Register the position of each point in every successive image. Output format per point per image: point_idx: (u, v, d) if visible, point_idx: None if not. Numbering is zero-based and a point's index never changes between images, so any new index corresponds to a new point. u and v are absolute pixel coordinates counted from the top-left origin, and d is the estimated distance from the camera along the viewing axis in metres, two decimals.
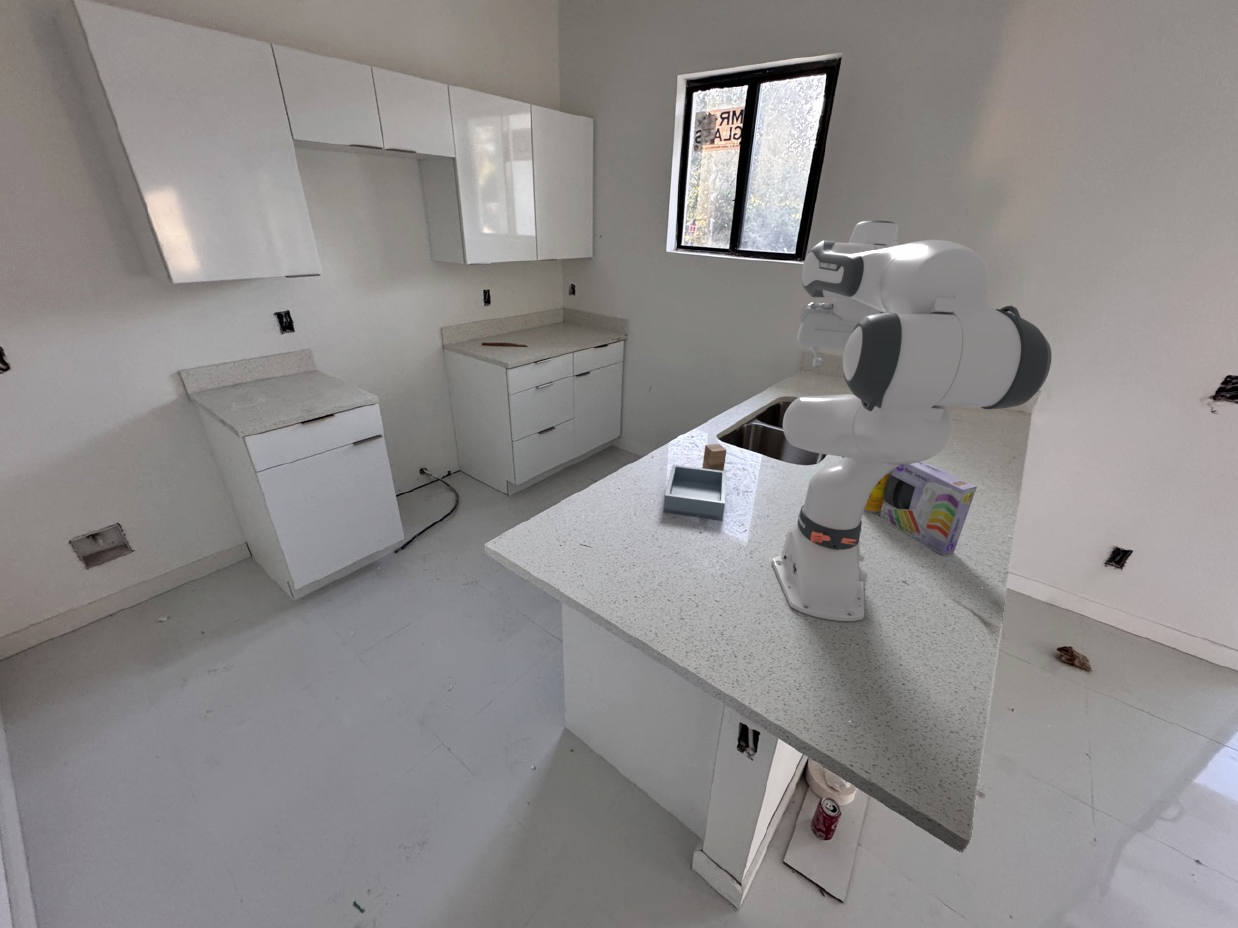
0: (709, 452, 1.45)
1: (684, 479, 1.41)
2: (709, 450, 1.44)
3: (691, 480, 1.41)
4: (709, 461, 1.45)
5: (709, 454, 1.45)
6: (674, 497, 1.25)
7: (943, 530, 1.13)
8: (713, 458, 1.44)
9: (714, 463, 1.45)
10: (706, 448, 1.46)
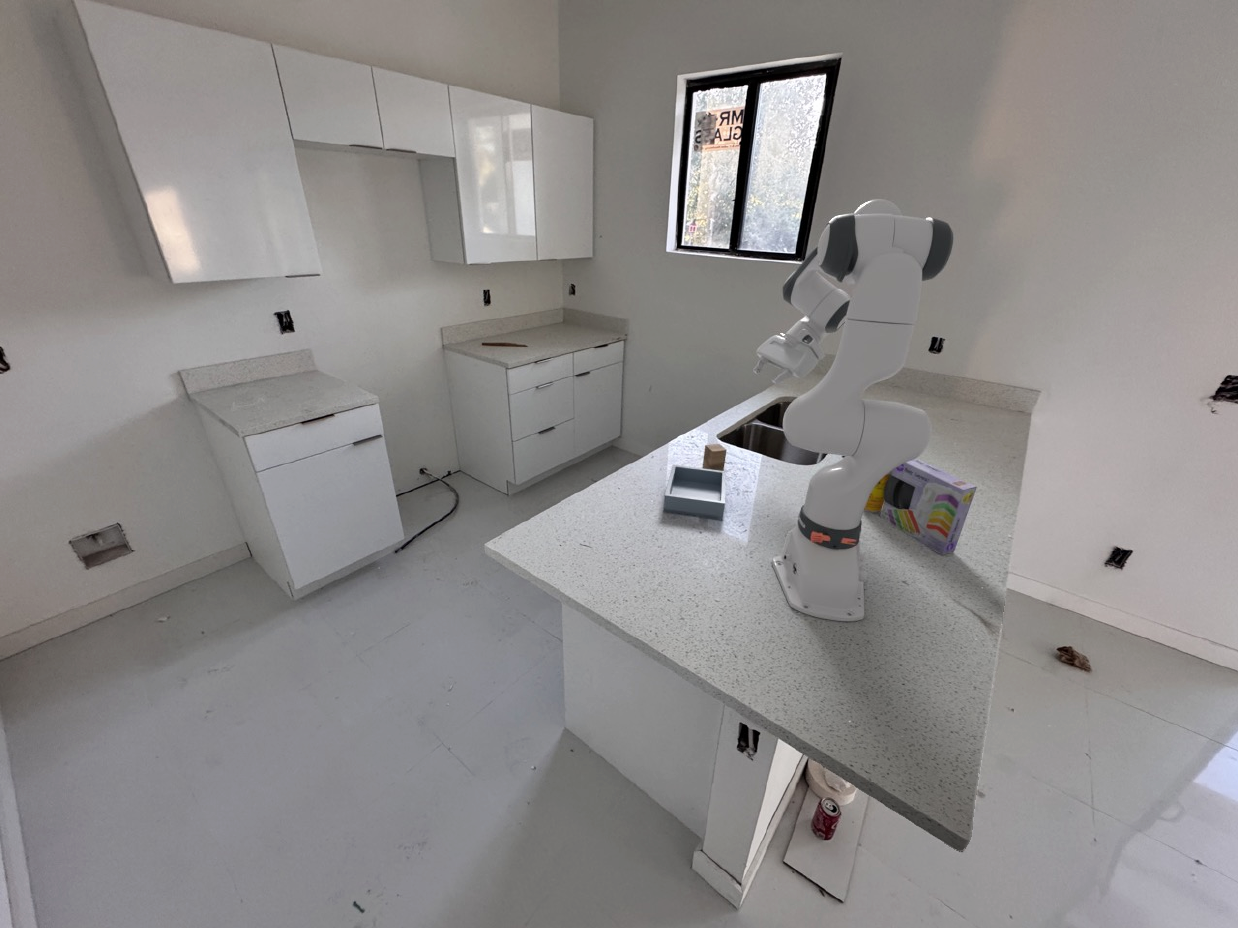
0: (709, 452, 1.45)
1: (684, 479, 1.41)
2: (709, 450, 1.44)
3: (691, 480, 1.41)
4: (709, 461, 1.45)
5: (709, 454, 1.45)
6: (674, 497, 1.25)
7: (943, 530, 1.13)
8: (713, 458, 1.44)
9: (714, 463, 1.45)
10: (706, 448, 1.46)
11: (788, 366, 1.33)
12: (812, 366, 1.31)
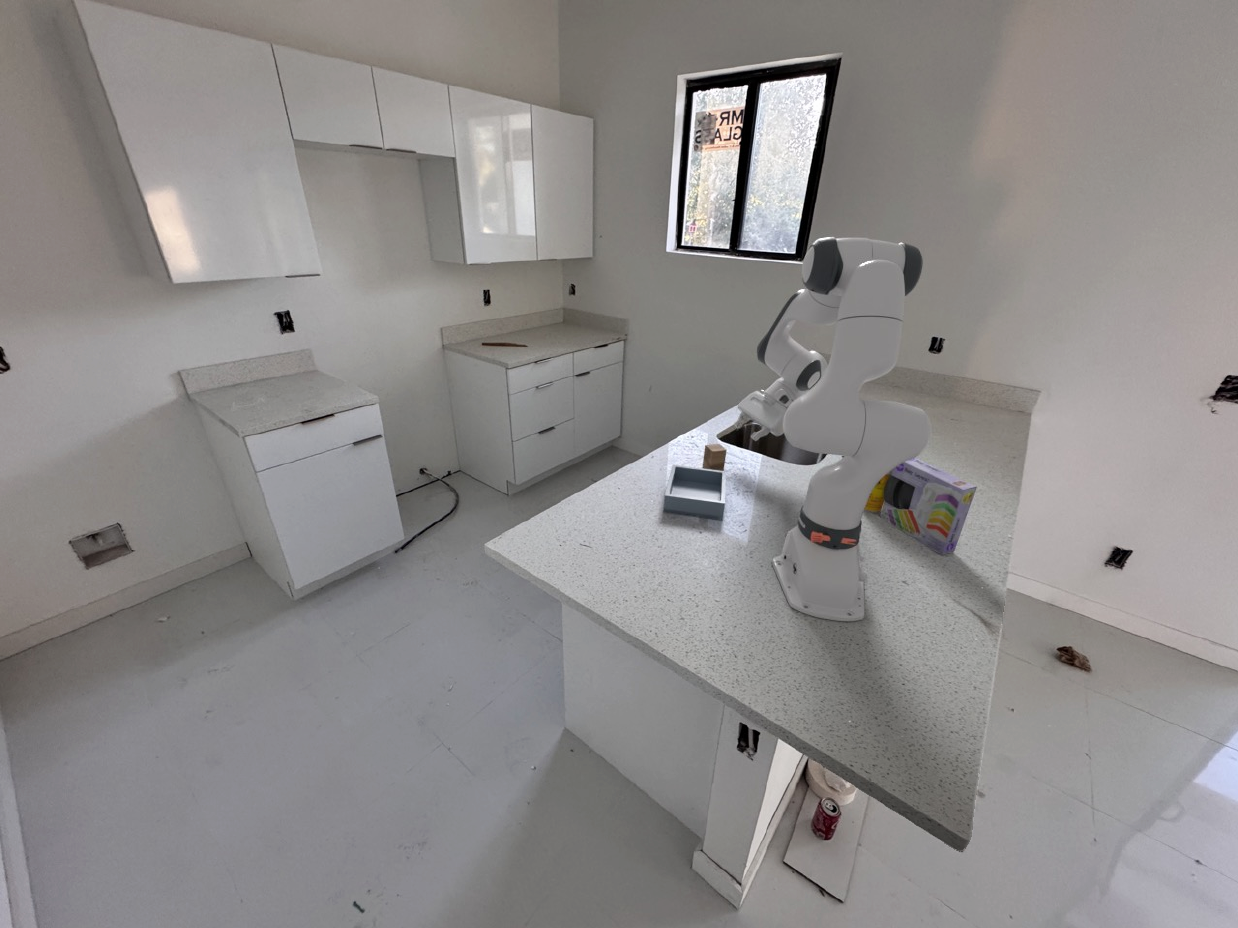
0: (709, 452, 1.45)
1: (684, 479, 1.41)
2: (709, 450, 1.44)
3: (691, 480, 1.41)
4: (709, 461, 1.45)
5: (709, 454, 1.45)
6: (674, 497, 1.25)
7: (943, 530, 1.13)
8: (713, 458, 1.44)
9: (714, 463, 1.45)
10: (706, 448, 1.46)
11: (766, 424, 1.40)
12: None
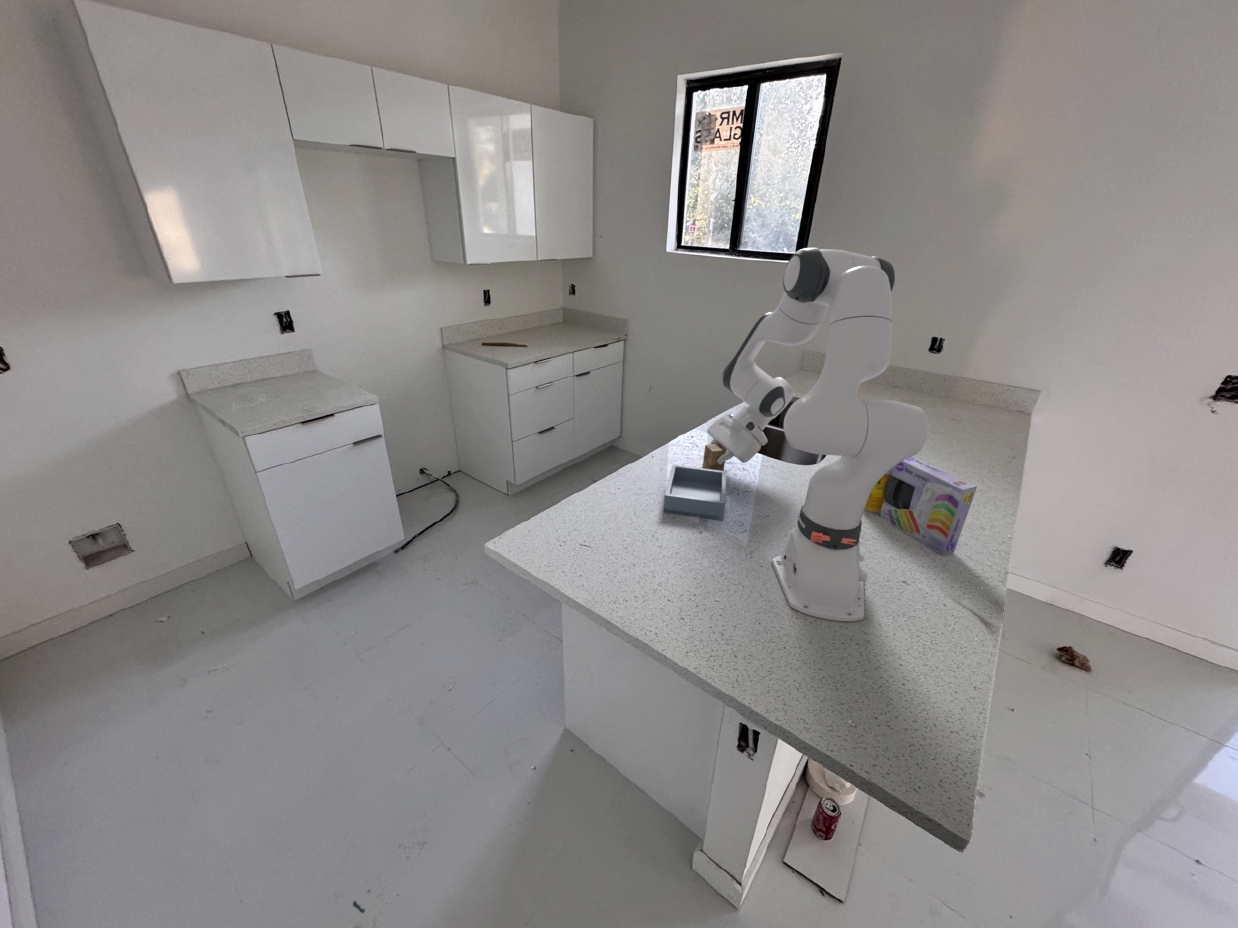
0: (709, 452, 1.45)
1: (684, 479, 1.41)
2: (709, 450, 1.44)
3: (691, 480, 1.41)
4: (709, 461, 1.45)
5: (709, 454, 1.45)
6: (674, 497, 1.25)
7: (943, 530, 1.13)
8: (713, 458, 1.44)
9: (714, 463, 1.45)
10: (706, 448, 1.46)
11: (732, 451, 1.40)
12: (754, 452, 1.38)
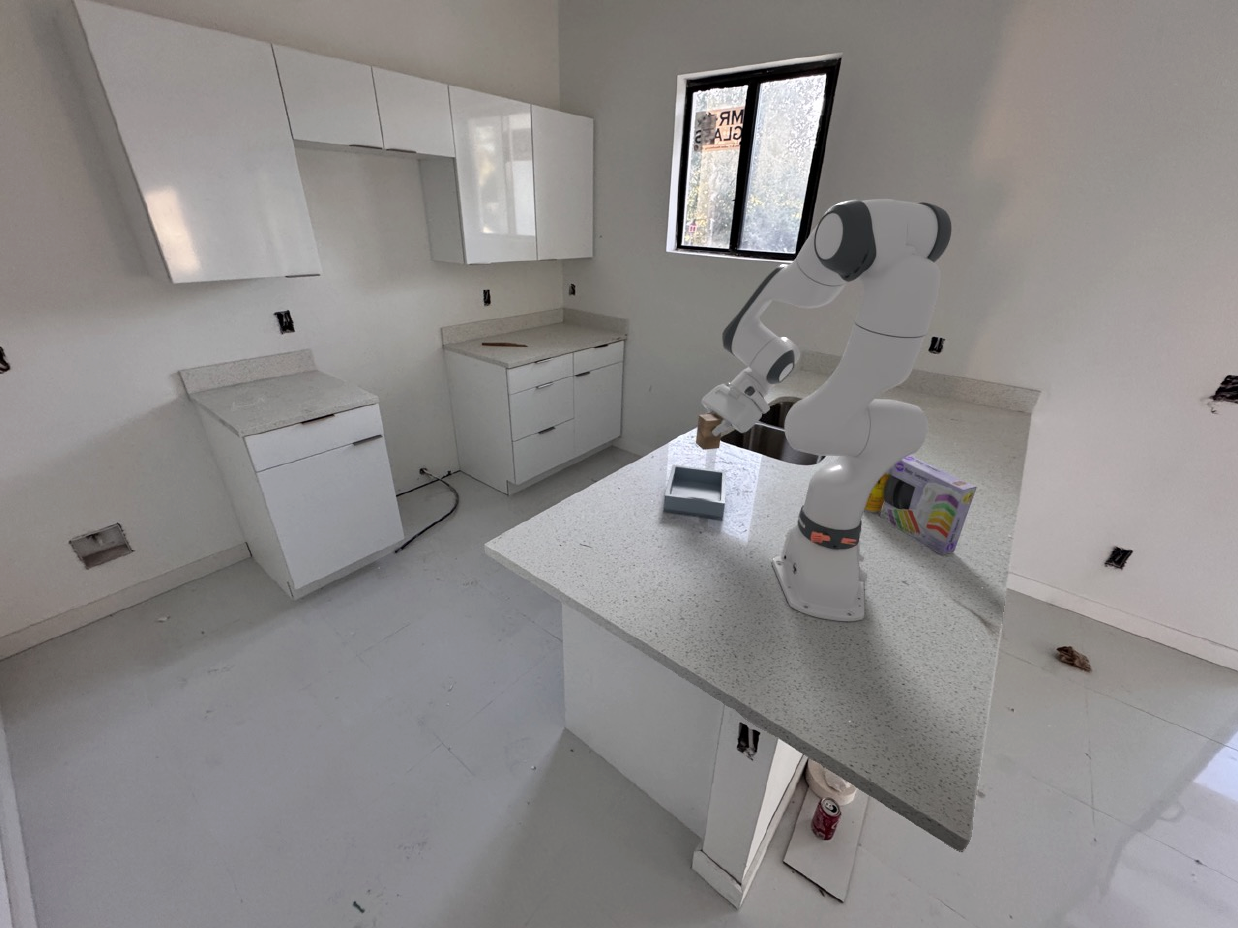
0: (703, 422, 1.27)
1: (684, 479, 1.41)
2: (703, 420, 1.27)
3: (691, 480, 1.41)
4: (703, 432, 1.28)
5: (703, 425, 1.28)
6: (674, 497, 1.25)
7: (943, 530, 1.13)
8: (707, 429, 1.27)
9: (708, 435, 1.28)
10: (700, 418, 1.29)
11: (729, 419, 1.23)
12: (755, 420, 1.21)
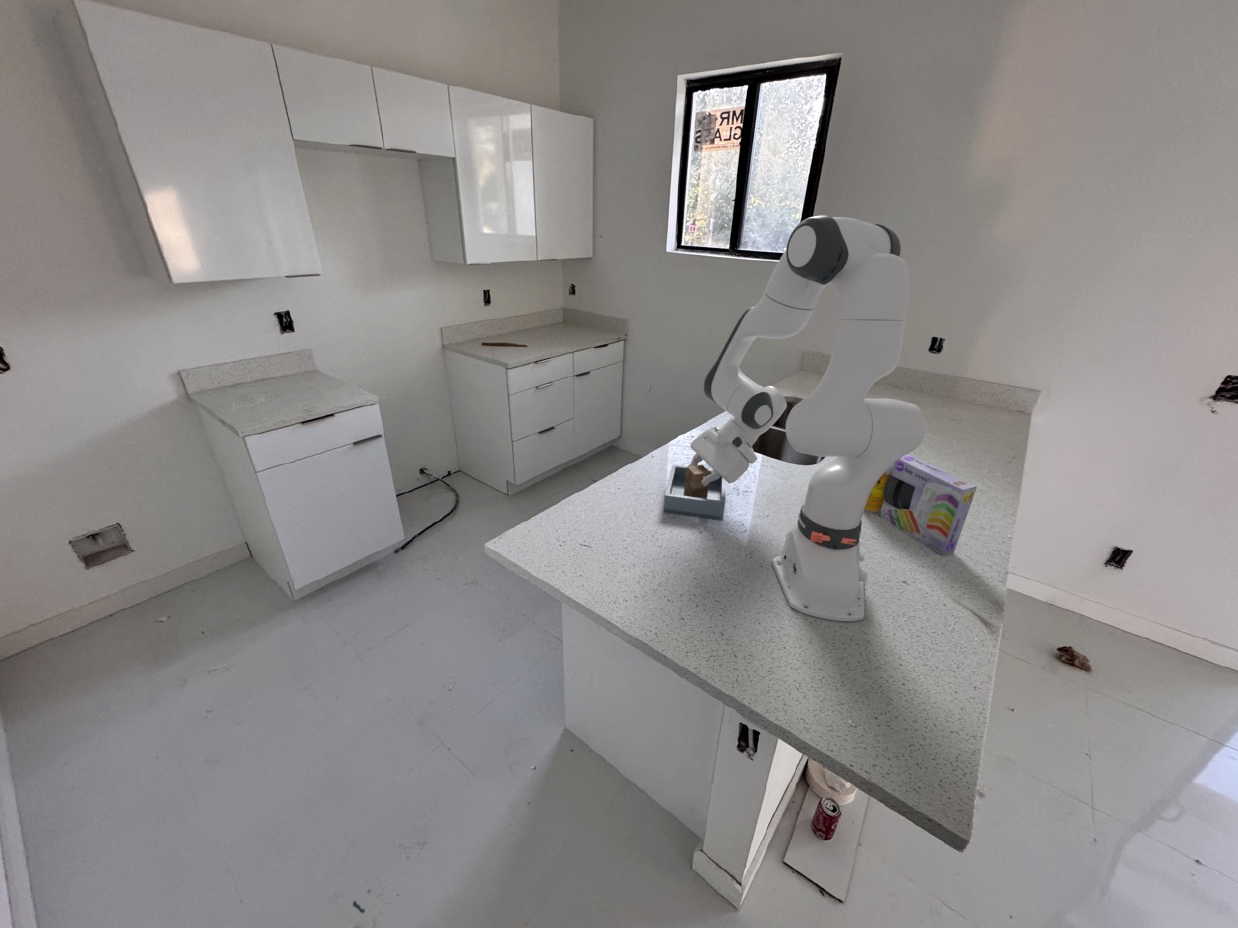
0: (691, 475, 1.29)
1: (684, 479, 1.41)
2: (691, 472, 1.29)
3: None
4: (691, 484, 1.30)
5: (691, 477, 1.29)
6: (674, 497, 1.25)
7: (943, 530, 1.13)
8: (695, 482, 1.28)
9: (696, 487, 1.29)
10: (688, 470, 1.31)
11: (717, 470, 1.24)
12: (742, 471, 1.22)
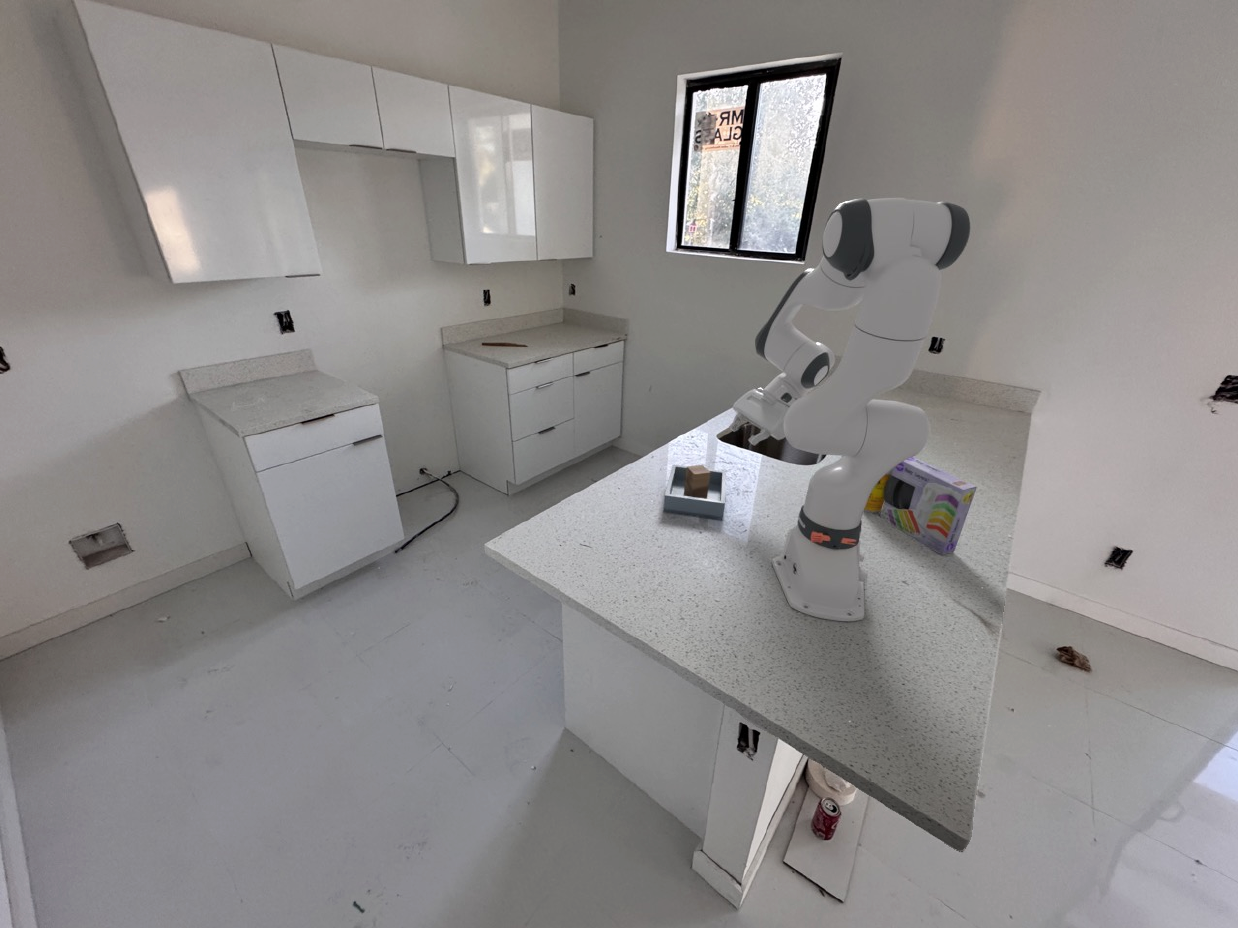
0: (691, 475, 1.29)
1: (684, 479, 1.41)
2: (691, 472, 1.29)
3: None
4: (691, 484, 1.30)
5: (691, 477, 1.29)
6: (674, 497, 1.25)
7: (943, 530, 1.13)
8: (695, 482, 1.28)
9: (696, 487, 1.29)
10: (688, 470, 1.31)
11: (766, 426, 1.22)
12: None
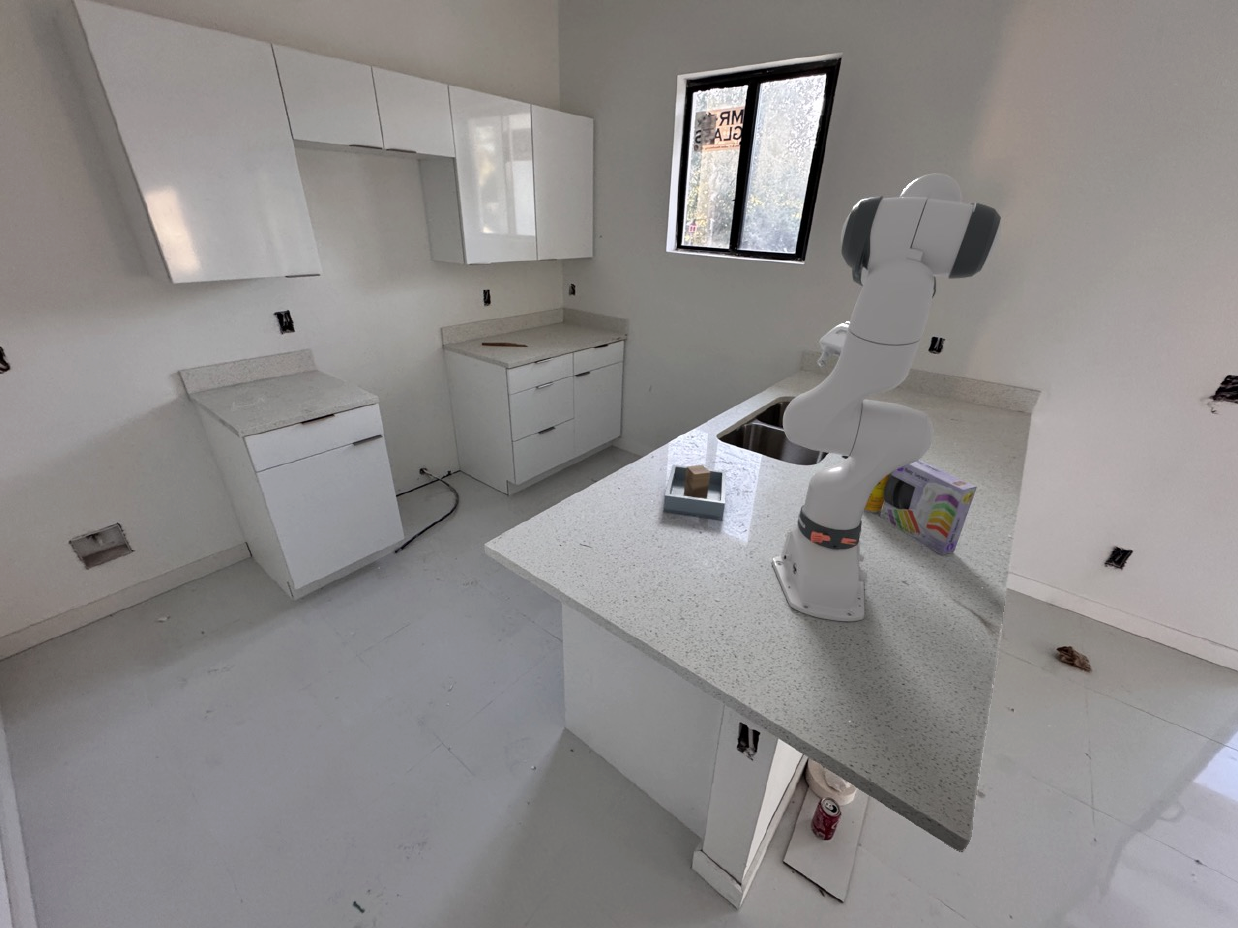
0: (691, 475, 1.29)
1: (684, 479, 1.41)
2: (691, 472, 1.29)
3: None
4: (691, 484, 1.30)
5: (691, 477, 1.29)
6: (674, 497, 1.25)
7: (943, 530, 1.13)
8: (695, 482, 1.28)
9: (696, 487, 1.29)
10: (688, 470, 1.31)
11: None
12: None
